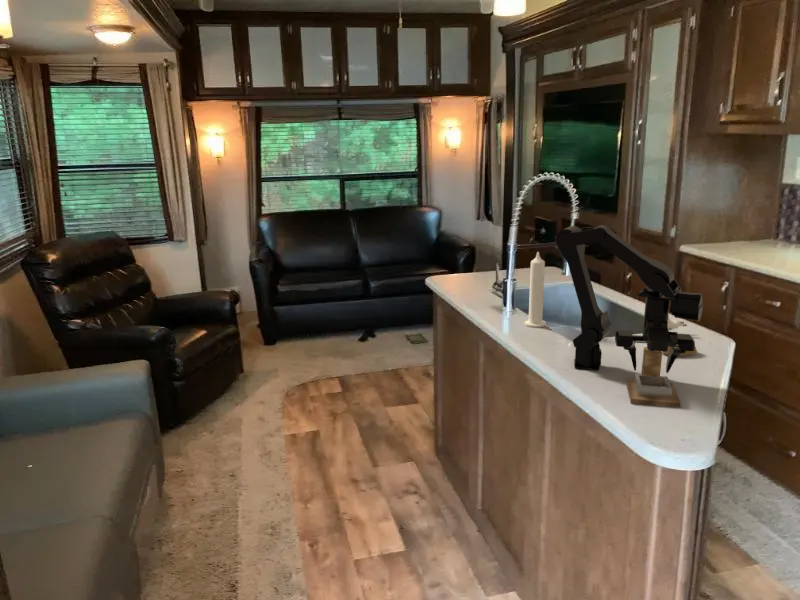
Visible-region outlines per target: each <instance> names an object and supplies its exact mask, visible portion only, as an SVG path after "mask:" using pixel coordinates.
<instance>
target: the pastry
mask: <svg viewBox="0 0 800 600" xmlns="http://www.w3.org/2000/svg"><path fill="white" fill-rule="evenodd" d="M668 352H669V347H668V351H666V352H662V354H664V355H666V356H668ZM697 352H698V350H697V347H696V346H695V348H694V351H686V352H685V353H682V354H680V355H679V356H678V357H679V358H683V357H690V356H695V355H696V354H697ZM678 357H677V358H678Z"/></svg>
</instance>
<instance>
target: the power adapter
mask: <svg viewBox="0 0 800 600" xmlns="http://www.w3.org/2000/svg"><path fill="white" fill-rule="evenodd" d="M687 326H688V324H686V323H685V322H684V321H677V320H676V319H671V318H670V317H669V316H668V331H670V329H678V328H679V327H687Z"/></svg>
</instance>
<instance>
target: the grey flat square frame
mask: <svg viewBox="0 0 800 600" xmlns="http://www.w3.org/2000/svg"><path fill="white" fill-rule="evenodd" d="M634 380H635V381H634V384H635V388H636V391H637V395H638V396H649V397H661V398H671V396H672V387H671V384H670V383H671V382H670V379H669V378H668V376H664V375H660V376H653V375H641V374H637V373H636V374H634Z"/></svg>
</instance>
